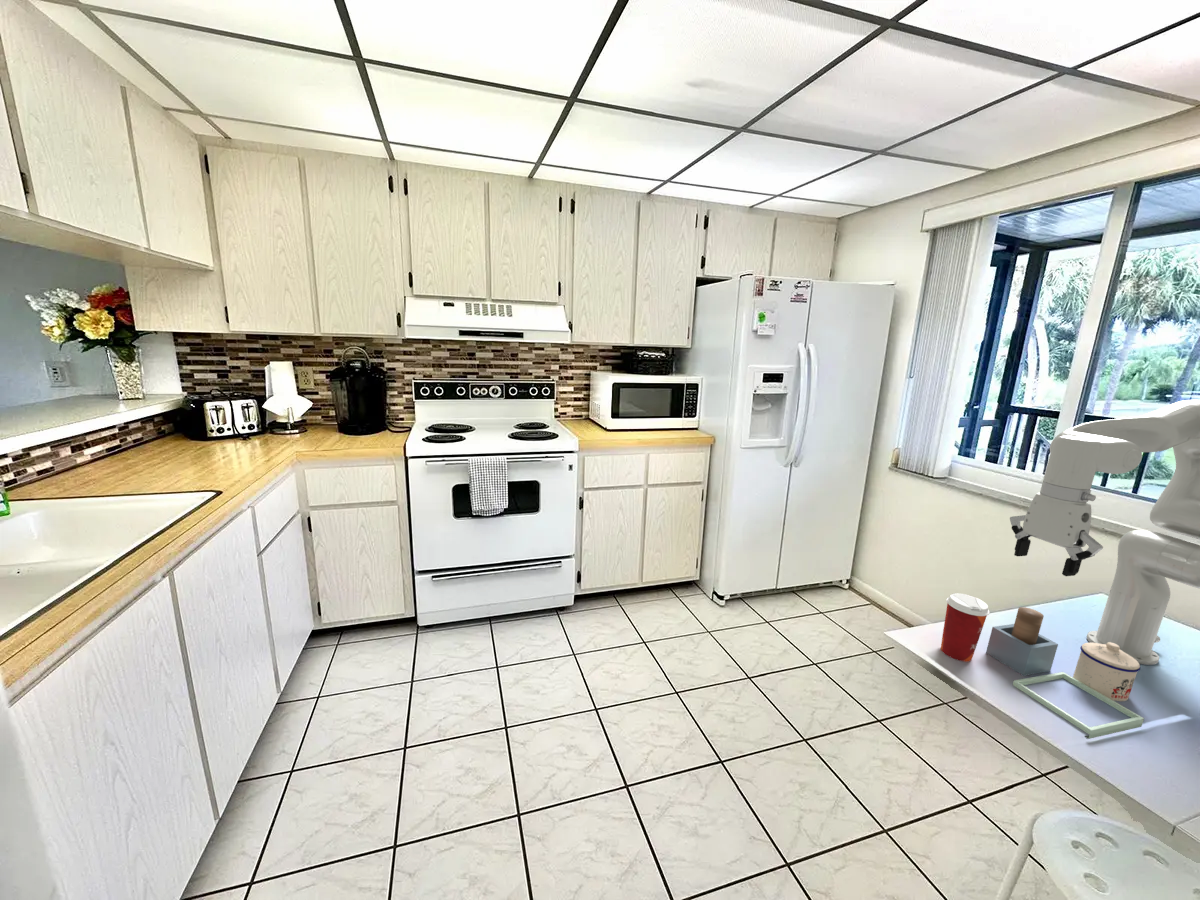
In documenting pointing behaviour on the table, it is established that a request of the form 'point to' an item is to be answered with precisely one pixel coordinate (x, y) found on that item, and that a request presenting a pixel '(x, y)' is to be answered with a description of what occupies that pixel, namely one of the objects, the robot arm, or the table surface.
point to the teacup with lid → (1107, 670)
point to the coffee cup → (963, 626)
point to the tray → (1092, 731)
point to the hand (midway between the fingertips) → (1043, 565)
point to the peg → (1027, 625)
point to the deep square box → (1021, 651)
